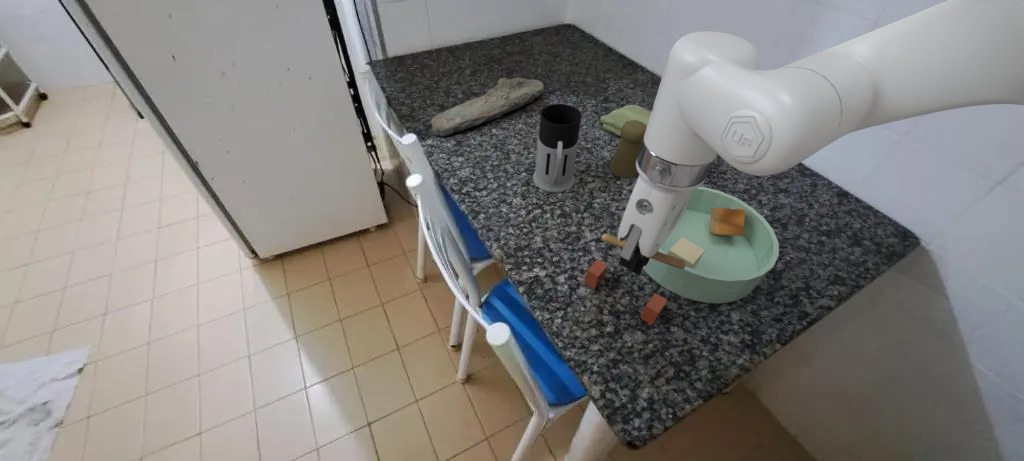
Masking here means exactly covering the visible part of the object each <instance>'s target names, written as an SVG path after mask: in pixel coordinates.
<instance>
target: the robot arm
mask: <svg viewBox="0 0 1024 461" xmlns="http://www.w3.org/2000/svg"><path fill="white" fill-rule="evenodd" d="M760 64H761V56H760V52H759V50H758V49H757V47H756V46H755V45H754V44H753V43H752V42H750V41H749V40H747V39H744V38H742V37H740V36H738V35H734V34H731V33H727V32H721V31H715V30H714V31H711V30H704V31H703V30H702V31H695V32H689V33H687V34H685V35H683V36H682V37H680V38H679V39H678V40H677V41H676V42H675V43H674V44H673V46H672V48H671V49H670V52H669V55H668V57H667V59H666V64H665V66H664V69H663V73H662V76H661V79H660V83H659V86H658V89H657V93H656V96H655V99H654V102H653V106H652V109H651V111H650V112H651V115H650V118H649V122H648V125H647V128H646V131H645V135H644V138H643V141H642V145H641V148H640V151H639V154H638V157H637V161H636V168H637V171H638V174H639V175H638V177H637V180H636V182H635V184H634V187H633V188H632V192H631V194H630V197H629V200H628V202H627V205H626V207H625V210H624V213H623V216H622V218H621V222H620V224H619V228H618V231H617V237H618V240H619V242H621V241H623V240H626V243H625V245H624V247H623V248H622V250H621V252H620V254H619V257H620V259H619V261H618V263H619V265H621V266H622V267H624V268H626V269H627V270H629V271H630V272H632V273H634V274H636V275H641V273H642V272H643V270H644V269H643V267H644V266H646V265H647V264H648V262H649V259H650V258H649V257H652V256H654V255H655V254H656V253H657V251H658V250H659V249H660V248H661V246H662V245H663V244H664V242H665V241H666V240H667V239H668V237H669V236H670V235H671V233H672V232H673V231H674V229H675V228H676V227H677V225H678V224H679V222H680V220H681V219H682V217H683V214H684V212H685V209H686V207H687V205H688V202H689V200H690V197H691V195H692V192H693V190H694V189H696V188H698V187H702V185H703V184H705V181H706V179H707V177H708V175H709V173H710V171H711V169H712V167H713V165H714V162H715V160H716V159H717V156H719V157H720V158H721V159H722V160H723V161H725V162H726V164H728V165H730V166H731V167H732V168H734V169H736V170H738V171H740V172H741V173H744V174H747V175H751V176H756V177H757V176H758V177H768V176H774V175H777V174H780V173H783V172H786V171H787V170H790V169H792V168H794V167H795V166H797V165H799V164H800V163H802V162H803V161H805V160H806V159H809V158H810V157H811V156H814V155H815V154H816V153H818V152H820V151H821V150H823V149H824V148H826V147H827V146H829V145H831V144H832V143H834V142H836V141H838V140H839V139H841V138H842V137H845V136H846V135H848V134H851V133H855V132H857V131H860V130H864V129H868V128H873V127H877V126H881V125H885V124H890V123H895V122H898V121H903V120H908V119H912V118H916V117H919V116H925V115H926V116H927V115H930V114H934V113H935V114H936V113H940V112H945V111H950V110H955V109H956V110H957V109H963V108H968V107H978V106H989V105H991V106H992V105H1014V106H1015V105H1016V106H1024V0H945V1H942V2H940V3H937V4H934V5H932V6H930V7H928V8H926V9H923V10H921V11H918V12H916V13H914V14H911V15H908V16H906V17H904V18H900V19H899V20H896V21H894V22H891V23H889V24H886V25H884V26H882V27H879V28H876V29H874V30H872V31H869V32H867V33H864V34H861V35H859V36H857V37H855V38H852V39H849V40H847V41H844V42H842V43H839V44H837V45H834V46H832V47H830V48H827V49H823V50H821V51H818V52H816V53H814V54H812V55H809V56H807V57H803V58H801V59H798V60H795V61H794V62H791V63H789V64H786V65H784V66H781V67H779V68H773V69H763V70H760ZM638 244H639V246H640V247H639V246H638Z"/></svg>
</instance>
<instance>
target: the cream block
mask: <svg viewBox="0 0 1024 461" xmlns="http://www.w3.org/2000/svg"><path fill="white" fill-rule="evenodd" d="M704 252H705V250H703V249H702V248H700V247H698V246H697V245H695V244H693V243H691V242H690V241H688V240H686V239H685V238H683V237H682V238H681V239H680V240H679V241H678V242H677V243H676V244H675V245H674V246H673V247H672V248H671V249H670V250H669V252H668V255H670V256H673V257H676V258H679V259H682V260H684V261H685V262H686V266H687V267H689V268H692V269H695V268H696V266H697V264H698V262H699V261H700V259H701V257H702V255H703V254H704Z"/></svg>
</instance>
